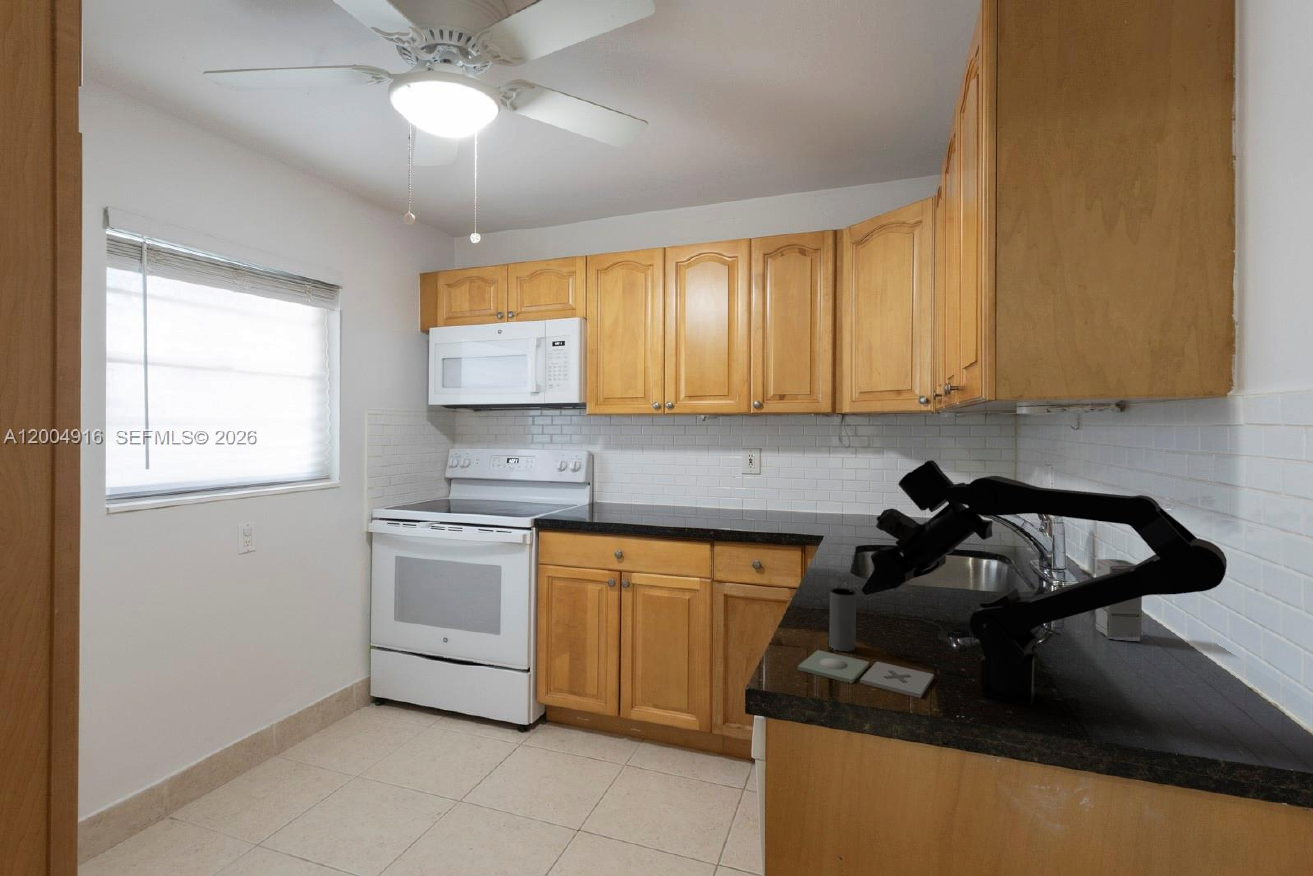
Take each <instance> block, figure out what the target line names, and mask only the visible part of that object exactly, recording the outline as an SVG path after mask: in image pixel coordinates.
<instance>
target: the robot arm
mask: <svg viewBox="0 0 1313 876" xmlns="http://www.w3.org/2000/svg"><path fill="white" fill-rule="evenodd" d="M897 485H898V486H899V487H900V488H901V490H902V491H903V492H904V493H905V494H906V496H908V498H909V499H910V500H911V501H912V502H913V503H914V505H916V507H917V508H918V509H919V510H920V511H922V512H924V511H926V510H928V511H929V512H930V513H933V512H936V511H938V510H939V509H940V508H942V506H944V505H945V504H946V503H947V504H946V505H945V506H944V507H943V508H942V509H941V510H940V511H938V512H937V513H936V514H935V515H933V516H932V517H931V518H930V519H928V521H925V522H923V523H919V522H917V521H916V520H914V518H911V517H910V516H908V515H907V514H904V513H903V512H901V511H900V510H898V509H895V508H888V509H883V511H882V512H881V514H880V515H878V516H877V517H876V520H877V523H876V525H875V527H876V528H877V529H878V530H880V531H884V533H886V534H888V535H889V536H890V537H891V536H892V537H893V538H895V539H897V540H896V541H895V545H897V546H898V548H899V549H901V553H902V554H903V555H902V554H901V553H900V551H899V550H898V549H897V548H896V547H894V546H888V545H887V546H885V547H880V548H878V549H877V550H876V551H875V552H873V554H871V555H870V559H871V562H872V564H873V568H874V569H873V571H872V572H871V574H870V576H869V577H868V579H867V580H866V582H865V584H864V585H863V586H862V588H861V593H863V595H865V596H868V595H871V594H875V593H881V592H885V591H889V590H896V589H898V588H901V587H903V586H904V585H905V584H908V583H909V582H910V581H911V580H912V579H915V578H918V577H922V576H923V577H924V576H926V575H928V574H932V573H933V572H935V571H937V570H939V569H940V568H942V567H943V566H944V565H945V564H946V560H947V556H946V555H949V554H951V553H953V552H955V550H956V548H957V547H958V546H960V544H962V543H963V542H964V541H965V540H967V539H969V537H971V536H972V535H974V534H975V533H976V535H977V536H978V537H979V538H980V539H981V540H988V539H990V538H992V537H993V529H992V528H993V523H994V522H993V521H992V520H986V519H983V518H982V517H989V516H991V517H992V516H994V517H995V516H1012V515H1027V514H1028V515H1029V514H1035V515H1045V516H1053V517H1062V518H1070V519H1079V520H1089V521H1096V522H1103V523H1113V524H1119V525H1127V526H1130V527H1131V528H1132V529H1133V530H1134V531H1135V532H1136V533H1137V534H1138V536H1139V537H1141V540H1143V541H1144V542H1145V543H1146V544H1147V546H1148V547H1149V548H1150V550H1151V551H1152V552H1153V553H1154V555H1151V556H1150V557H1148V558H1146V559H1144V560H1143V561H1141V562H1138V563H1137V564H1136V565H1135V566H1132V567H1129V568H1126V569H1122V570H1119V571H1116V572H1112V573H1109V574H1106V575H1103V576H1099V577H1096V576H1095V577H1093V578H1090V579H1086V580H1084V581H1080V582H1076V583H1075V584H1071V585H1067V586H1064V587H1059V588H1057V589H1054V590H1050V591H1048V592H1047V591H1046V592H1044V593H1041V594H1037V595H1032V596H1020V592H1019V590H1018V588H1014V589H1012V590H1011V591H1008V592H1007V593H1004V594H1000V595H997V594H993V595H991V596H990V597H988V598H986V599H985V600H984V601H982V602H980V603H979V606H980V607H978V609H976V610H975V611H973V613H972V614H971V616H970V619H969V627H970V630H971V633H972V634H973V635H974V637H975V638H976V639H977V640H978V642H979V644H980V647H981V651H982V652H983V656H982V657H981V659H980V672H979V673H980V675H979V686H980V687H981V688H982V690H981V695H983V696H985V697H989V698H992V699H993V698H995V699H997V700H1003V701H1006V702H1007V701H1008V702H1009V703H1010V702H1011V703H1015V704H1020V705H1023V706H1027V707H1031V706H1032V705H1033V701H1034V697H1035V693H1036V688H1034V679H1035V678H1034V676H1035V675H1034V674H1035V673H1034V672H1035V654H1032V652H1033V651H1034V650H1035V648H1036V646H1037V645H1038V642H1039V640H1040V639H1039V638H1038V636H1037V635H1036V634H1035V633H1034V631H1032V630H1034V629H1036V628H1037V627H1039V626H1041V625H1044V624H1048V623H1051V622H1055V621H1058V620H1063V619H1066V618H1070V617H1073V616H1077V615H1080V614H1084V613H1087V612H1092V611H1094V610H1095V609H1099V608H1102V607H1106V606H1110V605H1113V604H1117V603H1121V602H1124V601H1128V600H1131V599H1135V598H1139V597H1142V598H1143V597H1145V596H1157V595H1158V596H1163V595H1166V596H1167V595H1169V596H1170V595H1181V594H1192V593H1199V592H1206V591H1210V590H1213V589H1215V588H1217V587H1218V586H1219V585H1220V584H1221V583H1222V582H1223V580H1224V578H1225V577H1226V576H1225V575H1226V572H1227V565H1228V564H1227V562H1228V560H1227V557H1226V556H1225V553H1224V552H1223V550H1222V549H1221V548H1220V547H1219V546H1218V545H1216V544H1215V543H1213V542H1211V541H1209V540H1206V539H1202V538H1197V536H1196V535H1194V534H1193V533H1192V532H1191V531H1190V530H1189V529H1188V528H1187V527H1186V526H1184V525H1183V524H1182V523H1181V522H1179V521H1178V520H1177V519H1175V518H1174V517H1173V516H1172V515H1170V514H1169V513H1168V512H1167V511H1165V510H1164V508H1163V507H1161V506H1160V504H1159V503H1158V502H1157V501H1156V500H1155V499H1154V498H1153V497H1151V496H1148V495H1144V494H1142V495H1141V494H1137V495H1125V494H1113V493H1103V492H1092V491H1082V490H1079V491H1078V490H1072V489H1071V490H1070V489H1061V488H1060V489H1059V488H1050V487H1049V488H1047V487H1039V486H1037V485H1032V484H1028V483H1027V482H1023V481H1019V480H1016V479H1011V478H1008V477H1004V476H999V475H990V476H989V475H987V476H983V477H979V478H976V479H973V480H972V481H971V482H969V483H965V482H960V483H954V482H953V480H951V479H950V478H949V477H948V476H947V475H946V474H945V473H944V472H943V470H942V469H941V468H940V466H939V464H938V463H936V461H935V460H933V459H931V460H927V461H925V462H924V463H923V464H921V465H920V466H918V467H916V468H914V469H913V470H912V471H910V472H907V473H906V474H905V475H904V476H903V477H902V478H901V479H900V480H899V481H898V483H897ZM966 506H968V507H966Z"/></svg>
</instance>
